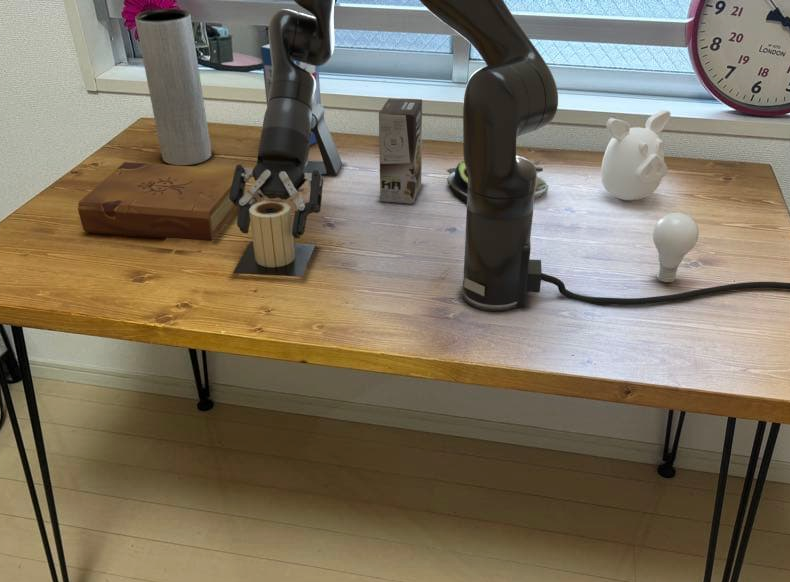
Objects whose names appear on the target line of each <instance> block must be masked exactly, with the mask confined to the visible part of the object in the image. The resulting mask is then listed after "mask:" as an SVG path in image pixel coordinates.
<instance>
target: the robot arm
mask: <svg viewBox="0 0 790 582" xmlns="http://www.w3.org/2000/svg"><path fill="white" fill-rule="evenodd" d="M335 1H336V0H293V2H294V3H295V4H296V5H298V6H299V7H301V8H302V9H304V10H306V11H307V12H309V13H311V14H312V15H309V14H306V13H302V12H298V11H295V10H292V9H287V8H282V9H279V10H277V11H275V13H274V14H273V15H272V16H271V18H270V21H269V24H268V31H267V32H268V34H267V35H268V44H269V46H270V53H271V61H272V81H271V88H270V94H269V100H268V106H267V105H266V110H265V112H264V116H263V122H262V127H261V131H260V132H261V133H260V140H259V145H258V152H257V157H256V158H257V159H256V164H255V166H254V167H253V168H249V167H244V166H243V165H242V164H237V165H236V166H235V168H234V169H235V173H234V177H233V181H232V186H231V190H230V194H229V199H230V200H231V201H232V203H233V204H234V205H235V206H238V214H237V220H236V227H238V229H239V231H240V232H241V234H249V232H250V231H249V230H250V226H251V222H250V214H249V209H250V207H251V206H252V205H254V204H256V203H258V202H261V201H264V199H265V198H267V199H270V200H275V199H280V200H281V201H283V200H284V201H287V200H288V199H290V198H291V200H292V201H293V203H294V205H295V206H296V208H297V210H295V211H294V218H293V222H292V228H293V229H292V235H293V239H300V238H301V236H303V235H304V234H305V231H306V225H307V219H308V216H309V215H310V214H318V213H320V212H321V208H322V197H323V188H324V187H323V186H324V178H323V176H321V174H320V173H319V171H317V170H315V171H313V172H312V173H305V171H304V169H305V164H306V158H307V152H308V145H309V140H310V137H311V124H312V109H313V103H314V97H315V91H316V81H315V78H314V77H313V76H312V75H311V74H310V73H309V72H308V71H306V70H304V69H303V68H301V67H299V66H297V65H296V64H294V63H293V62H292V61H291V60H295V61H299V62H303V63H306V64H310V65H313V66H318V67H322V66H325V64H327V63H328V62H329V61H330V59H331V58H332V56H333V54H334V50H335V26H334V11H335V8H334V7H335ZM418 1H419V2H420V4H422V5H423V7H424V8H425V9H427V10H428V12H429V13H431V14H432V15H434V17H436V18H437V19H438V20H440V21H441V22H442V23H444V24H445V25H447V26H448V27H449V28H450V29H452V30H453V31H455V32H456V33H457V34H459V35H460V36H461V37H463V38H464V39H465V40H466V41H468V43H469V44H470V45H471V46H472V47H473V48H474V49H475V50H476V52H477V53H478V54H479V55H480V57H481V58H482V60H483V62H484V63H485V65H486V66H482V67H481V68H479V69H477V70H476V71H474V72H473V73H472V74H471V76H470V77H469V79H468V81H467V83H466V86H465V90H464V94H463V101H462V102H463V103H462V131H463V133H462V139H463V152H462V153H463V161H464V162H465V166H466V170H467V173H468V193H467V203H466V213H465V214H466V215H465V216H466V217H465V238H464V239H465V240H464V256H463V257H464V259H463V260H464V261H463V279H462V289H461V296H462V298H463V300H464V301H465V302H466V303H467V304H469V305H470V306H472V307H474V308H477V309H480V310H484V311H492V312H500V311H501V312H503V311H508V310H513V309H514V308H515V309H516V308H524V307H525V306H526V300H527V299H526V298H527V297H526V296H527V293H538V294H540V293H541V285H542V282H546V283H549V284H551V285H555V286H556V287H557V289H558V292H559V293H560V295H562V296H563V297H565V298H567V299H570V300H574V301H578V302H583V303H588V304H593V305H614V306H615V305H617V306H640V305H652V304H661V303H669V302H676V301H683V300H687V299H691V298H697V297H701V296H708V295H714V294H719V293H720V294H721V293H725V292H730V291H732V292H733V291H738V290H750V289H751V290H752V289H776V290H790V282H783V281H747V282H737V283H730V284H723V285H718V286H712V287H705V288H698V289H694V290H690V291H684V292H679V293H674V294H673V293H672V294H666V295H657V296H647V297H629V298H627V297H626V298H625V297H607V296H606V297H604V296H603V297H602V296H601V297H600V296H599V297H598V296H585V295H581V294H576V293H574V292H572V291H570V290H568V289H566V285H565V283H564V281H562V280H560V278H557V277H555V276H553V275H550V274H545V273H543V272H542V271H543V270H542V259H533V258H532V259H530V258H531V245H532V244H531V236H532V225H533V218H534V217H533V216H534V206H535V199H536V198H535V187H536V178H538V173H537V171H536V167H537V166H535V164H534V163H533V162H532V161H530V160H529V159H527V158H525V157H522V156H519V155H517V137H520V136H523V135H526V134H529V133H531V132H535V131H537V130H539V129H542V128H544V127H546V126H548V125H549V124H550V123H551V122H552V121H553V119H554V118H555V117H556V114H557V112H558V107H559V94H558V87H557V83H556V80H555V78H554V75H553V73H552V71H551V69H550V67H549V66H548V64H547V63H546V61H545V60H544V58H543V57H542V54H540V52H539V51H538V49H537V47H535V46H534V44H533V43H532V41H531V39H530V37H528V35H527V33H526V32H525V31H524V29H522V27H521V25H520V24H519V23H518V21H517V19H516V18H515V16H514V15H513V13H512V12H511V11H510V9H509V7H508V6H507V4H506V3H505V1H504V0H418ZM251 178H253V180H254V182H253V183H252V184H251V185H250V186H249V187H248V189H247V192H246V193H245V189H246V185H247V183H250V180H251ZM306 182H307V185H308V186H309V188H310V190H309V201H308V202H305V201H304V200H303V198H302V196H301V193H299V190H300V189H301V187H302V186H303V185H304V184H305V183H306ZM243 194H245V195H244V196H243Z"/></svg>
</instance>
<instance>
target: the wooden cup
mask: <svg viewBox="0 0 790 582" xmlns="http://www.w3.org/2000/svg"><path fill="white" fill-rule="evenodd" d="M269 208H273V209H276V210H277V213H272V214H264V210H265V209H269ZM291 208H292V207H291V206H290V204H289V203H287V202H286V201H283V200H279V199H278V200H275V199H270V200H268V199H267V200H262V201H261V202H258V203H256V204H254V205H252V206H251V207H250V209H249V214H250V229H251V236H252V241H253V245H254V252H255V260H256V261H257V263H258V264H259V265H262V266H264V267H281V266H285V265H288V264H289V263H291V262H292V261H294V258H295V249H294V243H295V240H294V239H295V238H294V236H293V235H292V229H293V220H292V209H291Z"/></svg>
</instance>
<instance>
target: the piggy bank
mask: <svg viewBox="0 0 790 582" xmlns="http://www.w3.org/2000/svg"><path fill="white" fill-rule="evenodd" d="M670 119H671V111H669V110H667V109H661V110H660V111H658V112H655V113H654V114H652V115H651V116H649V117H648V118H647V120H646V121H645V127H638V126H636V127H631V125H630V124H629V122H627V121H625V120H623V119H618V118H614V117H610V118H608V119H607V122H606V131H607V134H608V135H609V136H610V137H611V139H610V140H609V142H608V145H607V147H606V149H605V152H604V154H603V158H602V162H601V166H600V167H601V168H600V179H601V183H602V187H604V190H606V192H607V193H608V194H610V195H611V196H613V197H615V198H616V199H619V200H622V201H623V200H624V201H638V200H642V199H644V198H646V197H648V196H649V197H650V195H652V194H653V193H654V192H656V190H657V189H658V188H659V186H660V184H661V182H662V180H663V178H664V177H665V176H666V175H667V172H668V166H667V163H666V162H665V151H664V145H665V142H664V140H662V139H661V138H660V137H659V135H658V134H660V133H661V132H663V130H665V128H666V127H667V125H668V124H669V121H670Z"/></svg>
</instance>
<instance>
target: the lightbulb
mask: <svg viewBox="0 0 790 582" xmlns="http://www.w3.org/2000/svg"><path fill="white" fill-rule="evenodd" d="M698 238H699V226H698V224H697V222H696V220H695V219H694V217H692V216H690V215H689V214H687V213H685V212H679V211H676V212H670V213H667V214H665V215H664V216H662V217H661V218H660V219H659V220H658V221H657V223H656V224H655V226H654V228H653V231H652V240H653V245H654V246H655V248H656V250H657V254H658V261H659V266H658V271H657V274H656V278H657V279H658V280H659V281H661V282H662V283H665V284H666V283H672V282H673V281H676V277H677V272H678V269H679V268H678V267H679V266H680V264H681V263H682V261H683V259H684V258H685V256H686V255H687V254H689V253H690V252H691V251H692V249H694V247H696V244H697V242H698V241H699V239H698Z"/></svg>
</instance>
